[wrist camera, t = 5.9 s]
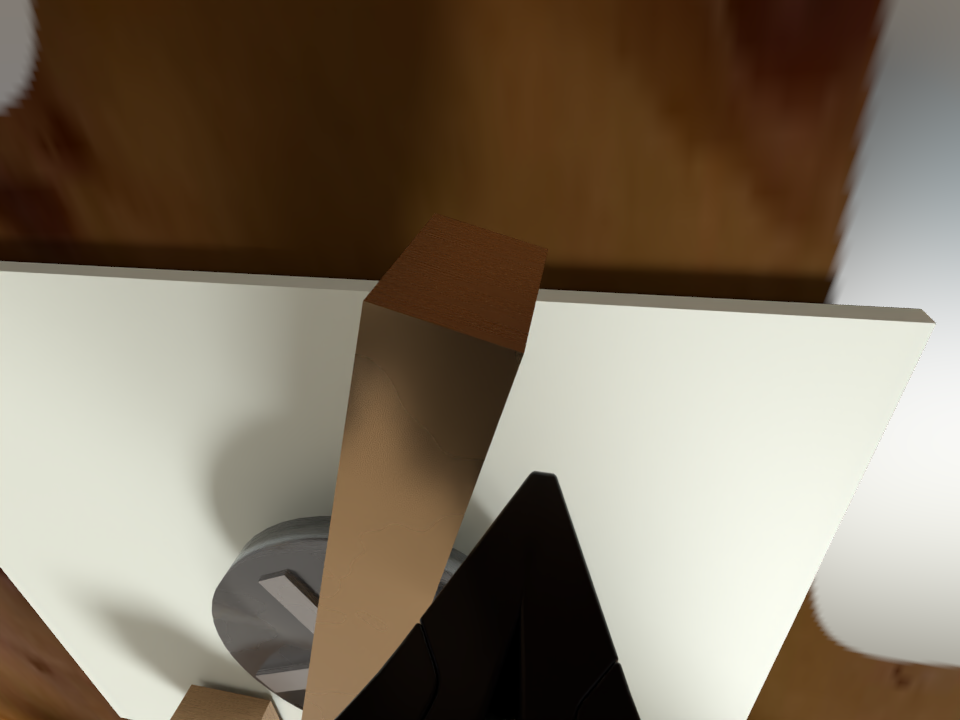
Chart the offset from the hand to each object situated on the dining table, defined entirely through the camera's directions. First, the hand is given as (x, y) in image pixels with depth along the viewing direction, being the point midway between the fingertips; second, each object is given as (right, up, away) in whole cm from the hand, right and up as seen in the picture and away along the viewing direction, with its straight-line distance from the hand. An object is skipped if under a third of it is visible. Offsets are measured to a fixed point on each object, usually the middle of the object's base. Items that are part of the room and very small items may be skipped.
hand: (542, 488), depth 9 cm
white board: (-7, -7, +11) cm, 15 cm away
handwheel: (-3, -3, +6) cm, 7 cm away
